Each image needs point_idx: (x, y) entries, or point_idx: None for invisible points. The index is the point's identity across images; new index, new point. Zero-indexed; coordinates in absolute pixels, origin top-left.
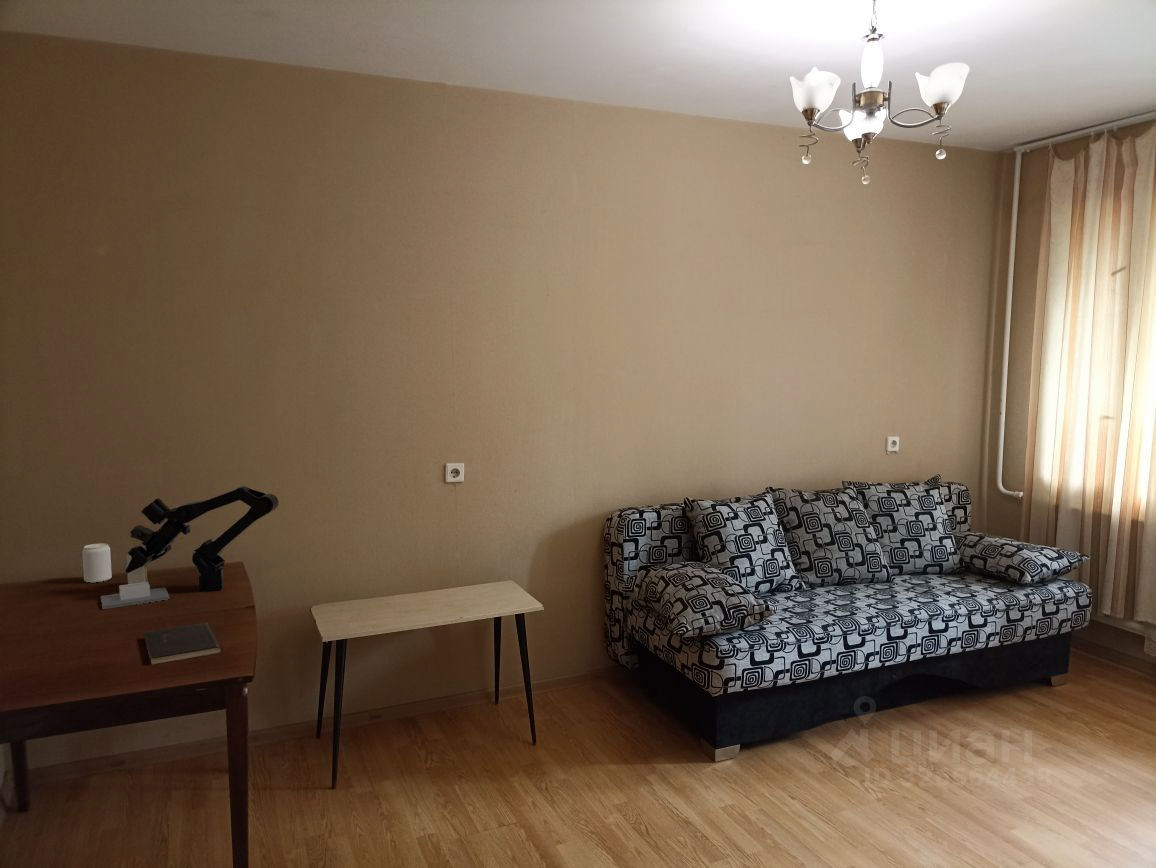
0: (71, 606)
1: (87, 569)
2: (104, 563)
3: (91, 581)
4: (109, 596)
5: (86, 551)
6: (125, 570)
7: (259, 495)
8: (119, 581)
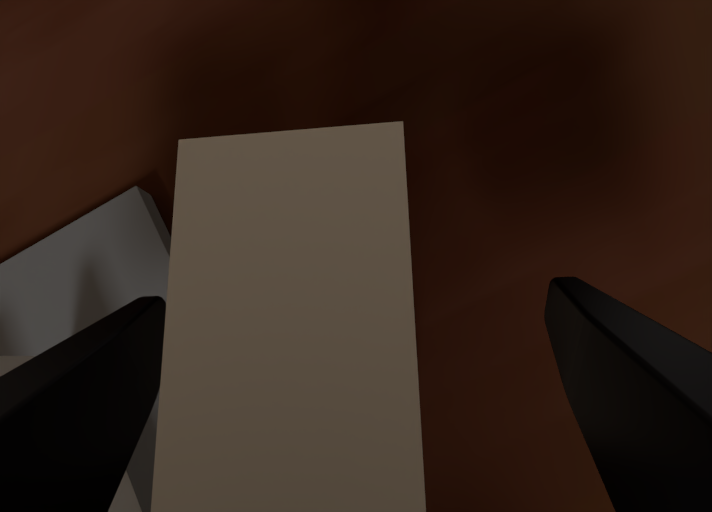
0: (9, 105)
1: None
2: None
3: None
4: (107, 263)
5: None
6: (131, 302)
7: None
8: (693, 42)
